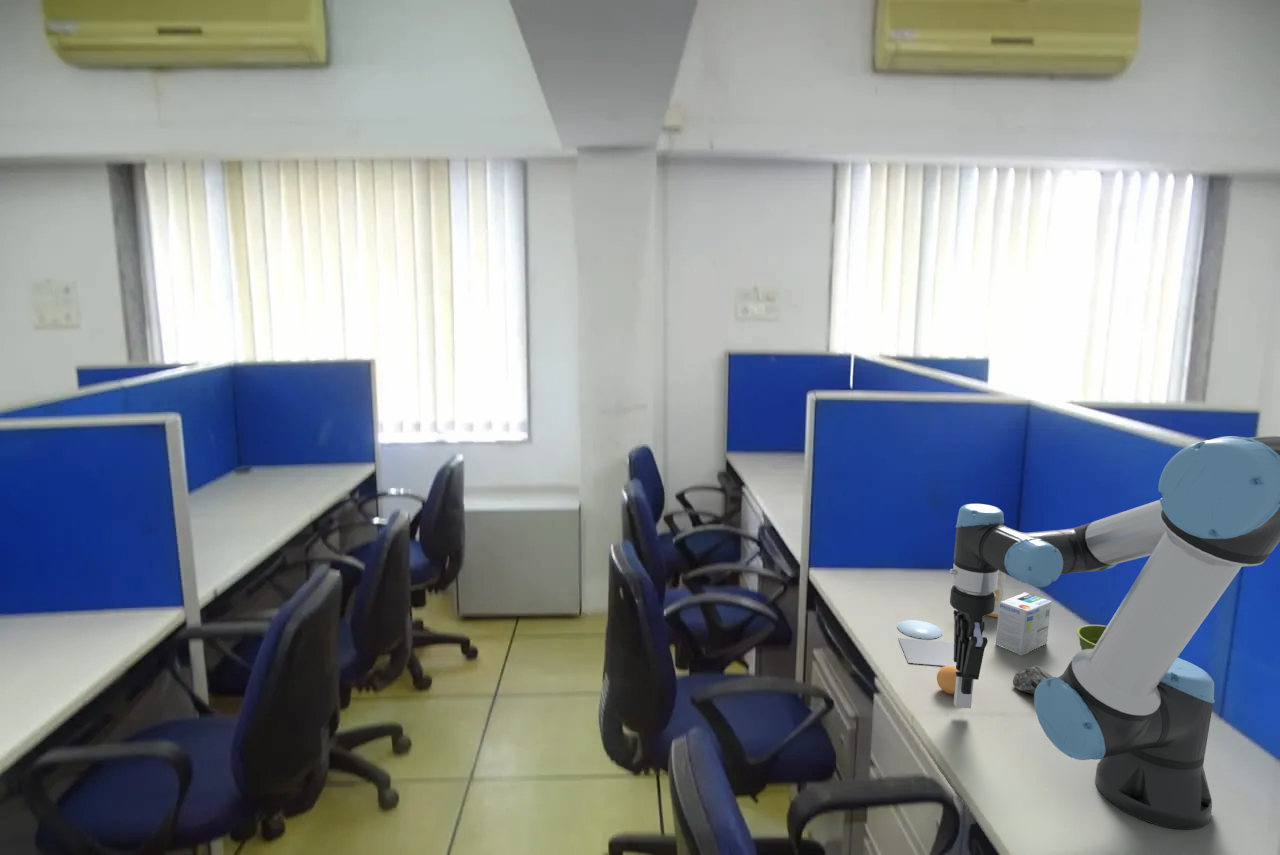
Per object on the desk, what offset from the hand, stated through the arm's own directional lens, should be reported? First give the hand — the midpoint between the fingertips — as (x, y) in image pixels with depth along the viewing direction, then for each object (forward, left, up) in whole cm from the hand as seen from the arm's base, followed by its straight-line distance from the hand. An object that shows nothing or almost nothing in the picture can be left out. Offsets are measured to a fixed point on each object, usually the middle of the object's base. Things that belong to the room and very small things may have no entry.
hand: (962, 705), depth 139 cm
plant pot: (+16, -32, -2) cm, 35 cm away
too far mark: (+38, 0, -2) cm, 38 cm away
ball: (+9, 0, +1) cm, 9 cm away
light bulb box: (+34, -22, -2) cm, 40 cm away
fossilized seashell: (+11, -18, -3) cm, 21 cm away
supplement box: (+52, -19, -2) cm, 55 cm away
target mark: (+26, 0, -2) cm, 26 cm away
